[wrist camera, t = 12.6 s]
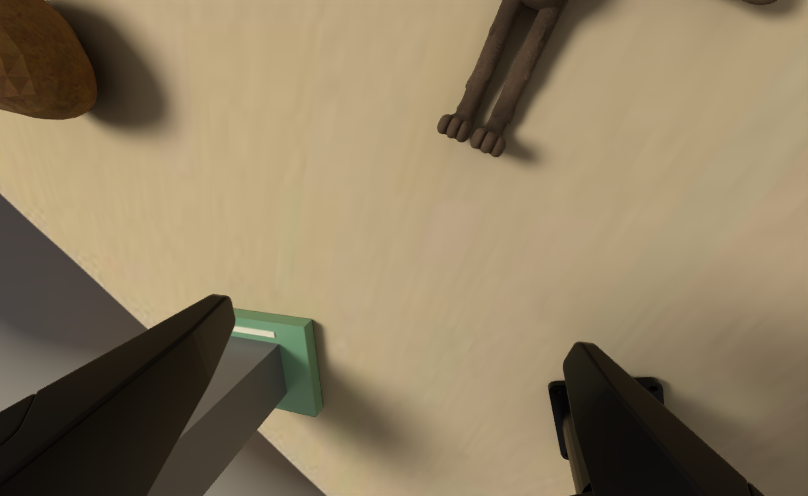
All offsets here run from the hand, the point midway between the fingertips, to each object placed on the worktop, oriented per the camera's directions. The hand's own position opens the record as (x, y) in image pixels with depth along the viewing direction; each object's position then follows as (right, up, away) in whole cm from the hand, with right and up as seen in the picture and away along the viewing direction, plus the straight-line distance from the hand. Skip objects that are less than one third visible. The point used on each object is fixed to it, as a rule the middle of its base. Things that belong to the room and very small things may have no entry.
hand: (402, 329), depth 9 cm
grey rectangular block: (-13, -8, +20) cm, 25 cm away
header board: (-12, -8, +21) cm, 25 cm away
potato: (-25, +17, +16) cm, 34 cm away
